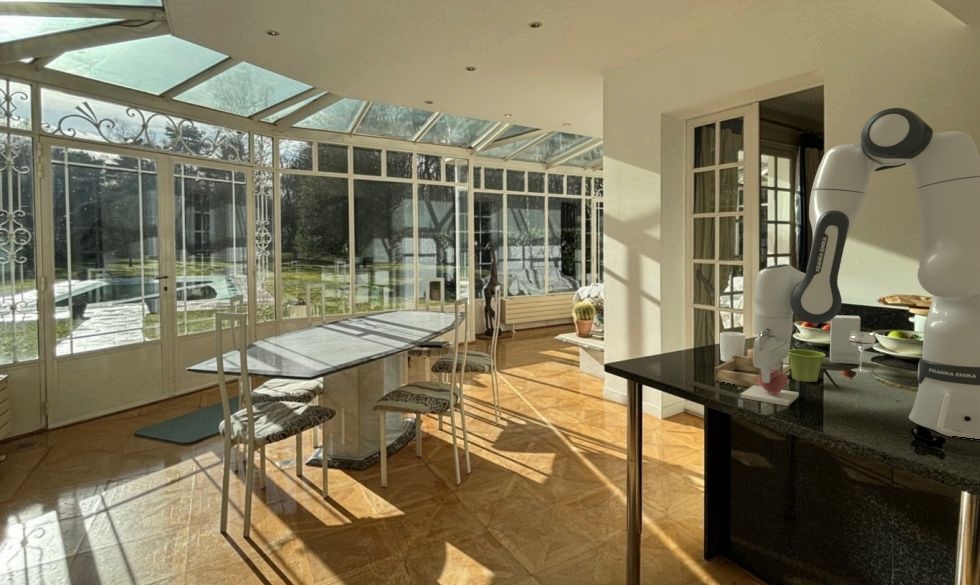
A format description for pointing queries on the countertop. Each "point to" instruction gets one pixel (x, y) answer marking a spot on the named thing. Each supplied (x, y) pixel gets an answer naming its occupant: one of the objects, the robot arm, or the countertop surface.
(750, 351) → the tan rounded block
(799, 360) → the plant pot
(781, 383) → the flower
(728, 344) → the white cup
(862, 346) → the wineglass
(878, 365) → the countertop surface
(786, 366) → the lid
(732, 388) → the countertop surface
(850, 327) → the skincare box
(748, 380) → the open wooden box
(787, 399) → the tile
